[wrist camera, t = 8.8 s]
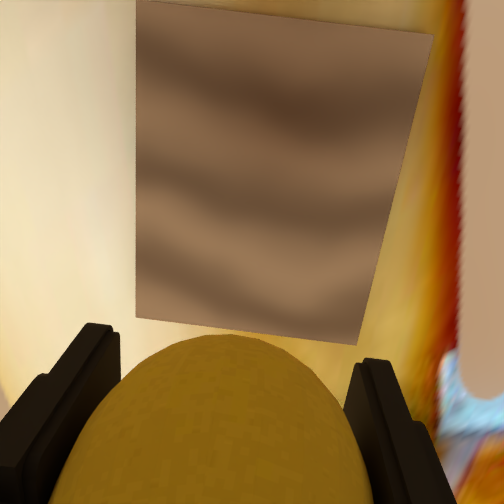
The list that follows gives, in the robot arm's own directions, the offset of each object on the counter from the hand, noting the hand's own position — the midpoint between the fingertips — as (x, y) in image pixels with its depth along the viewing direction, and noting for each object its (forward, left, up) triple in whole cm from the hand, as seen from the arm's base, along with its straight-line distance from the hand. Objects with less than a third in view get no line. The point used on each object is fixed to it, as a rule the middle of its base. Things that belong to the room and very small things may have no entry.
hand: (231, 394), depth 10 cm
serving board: (0, 0, -19) cm, 19 cm away
